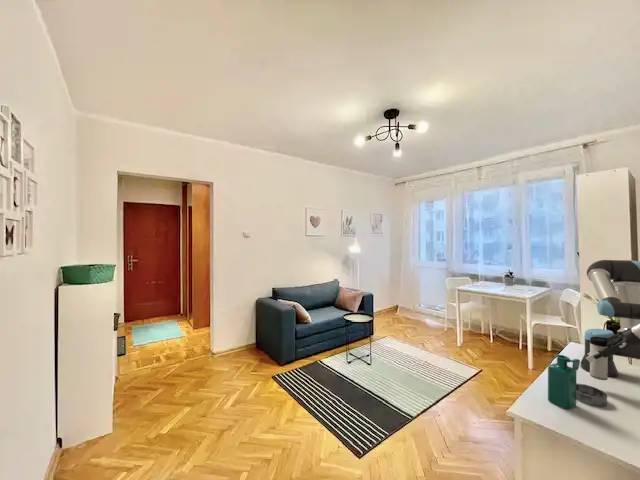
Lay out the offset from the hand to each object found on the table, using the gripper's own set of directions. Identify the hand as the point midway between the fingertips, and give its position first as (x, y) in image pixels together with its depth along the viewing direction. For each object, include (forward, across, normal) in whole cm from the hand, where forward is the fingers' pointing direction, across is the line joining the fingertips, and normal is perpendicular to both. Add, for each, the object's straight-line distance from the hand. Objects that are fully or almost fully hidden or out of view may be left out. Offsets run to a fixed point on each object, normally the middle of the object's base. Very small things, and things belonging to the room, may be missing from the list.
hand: (589, 358), depth 141 cm
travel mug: (+4, 0, -9) cm, 9 cm away
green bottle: (+15, -29, -6) cm, 33 cm away
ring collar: (+10, -15, -11) cm, 21 cm away
